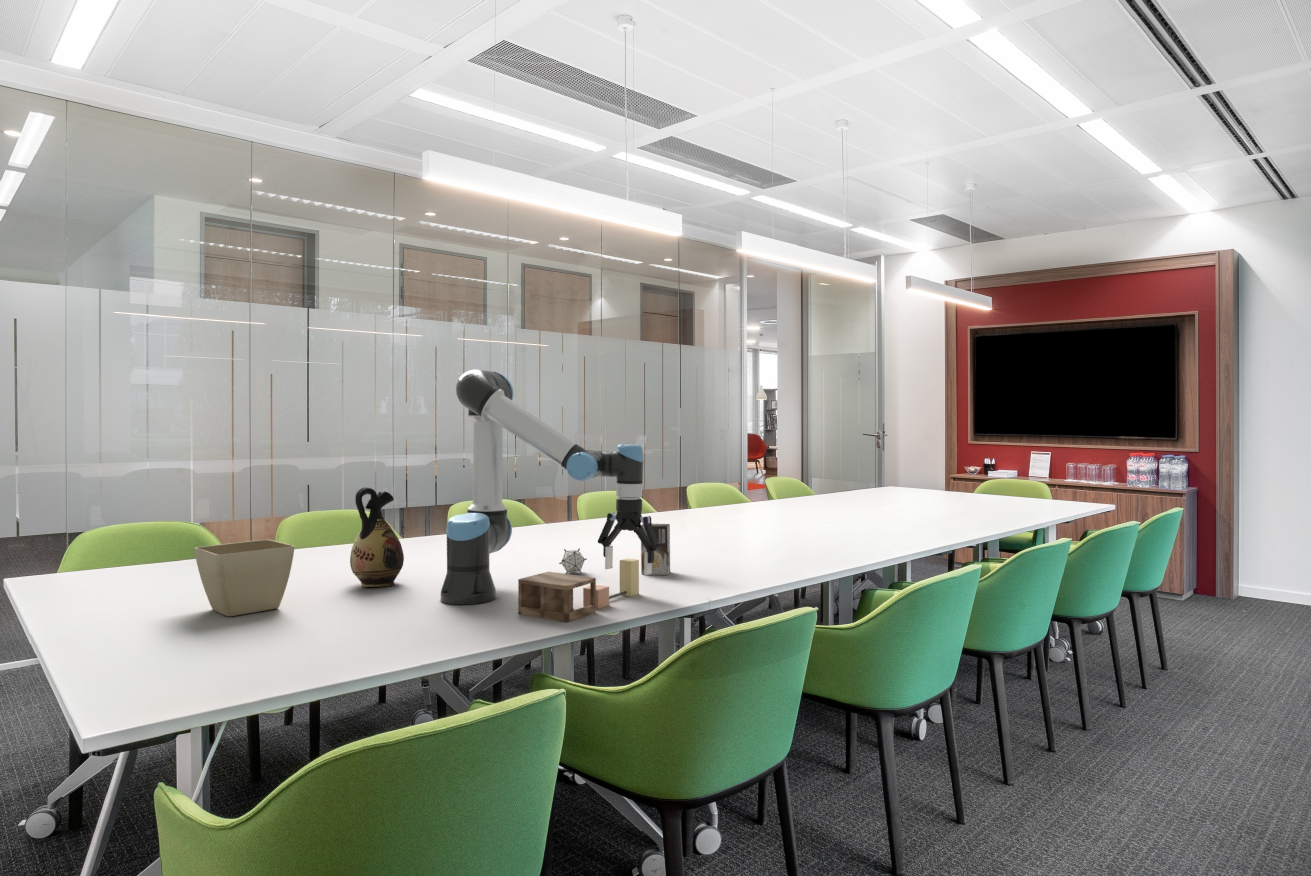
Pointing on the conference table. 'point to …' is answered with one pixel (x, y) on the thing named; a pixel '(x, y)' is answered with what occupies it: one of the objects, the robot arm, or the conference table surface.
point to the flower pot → (245, 575)
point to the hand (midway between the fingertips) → (627, 571)
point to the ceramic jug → (375, 543)
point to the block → (627, 584)
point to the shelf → (553, 596)
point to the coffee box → (659, 551)
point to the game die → (573, 561)
